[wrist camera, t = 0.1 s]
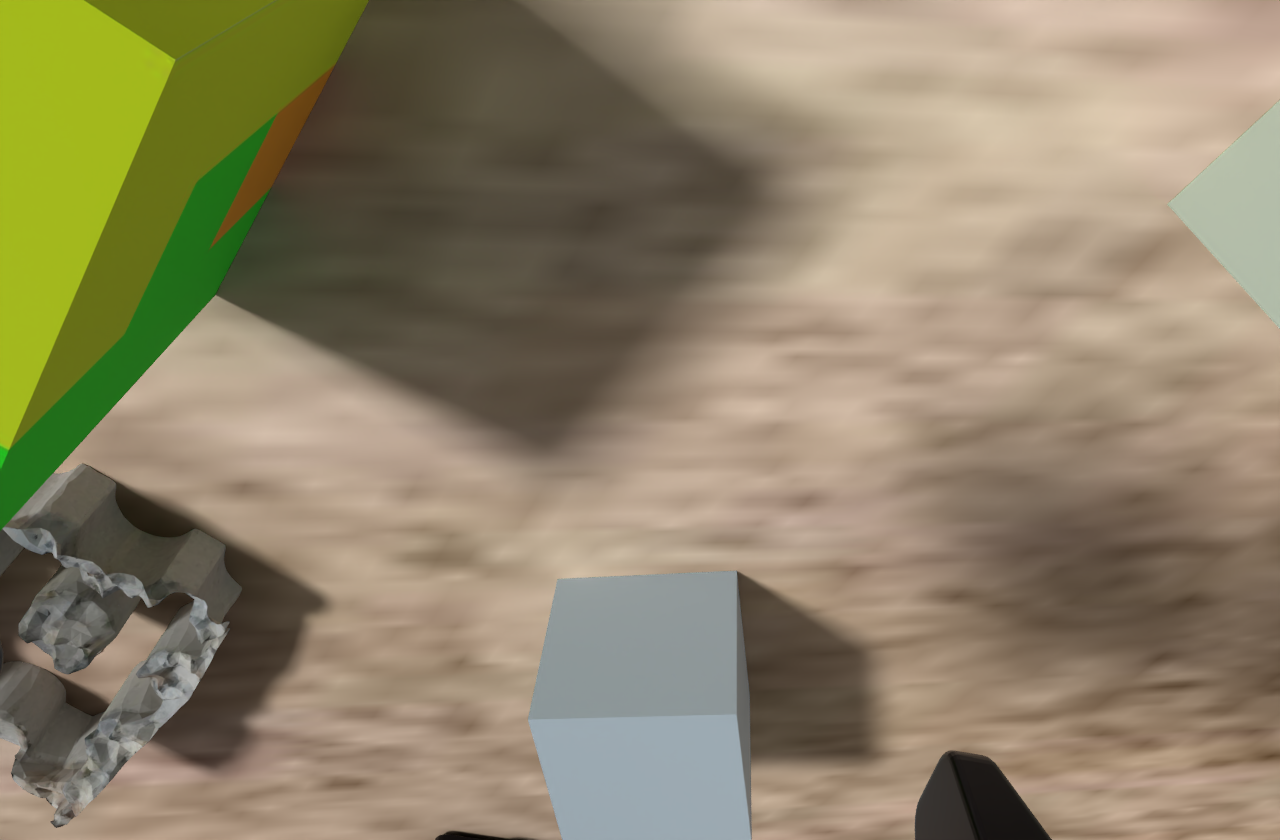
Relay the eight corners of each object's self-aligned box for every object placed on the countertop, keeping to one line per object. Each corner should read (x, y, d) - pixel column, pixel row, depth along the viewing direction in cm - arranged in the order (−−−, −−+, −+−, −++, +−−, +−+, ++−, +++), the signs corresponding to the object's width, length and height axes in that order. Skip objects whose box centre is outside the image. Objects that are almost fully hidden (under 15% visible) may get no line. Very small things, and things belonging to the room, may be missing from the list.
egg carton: (125, 732, 34) (59, 842, 31) (-92, 616, 32) (-189, 722, 29) (288, 571, 30) (229, 681, 26) (46, 418, 27) (-52, 518, 24)
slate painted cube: (749, 693, 31) (751, 843, 27) (586, 697, 31) (563, 844, 27) (736, 568, 28) (736, 714, 24) (558, 576, 29) (527, 719, 25)
